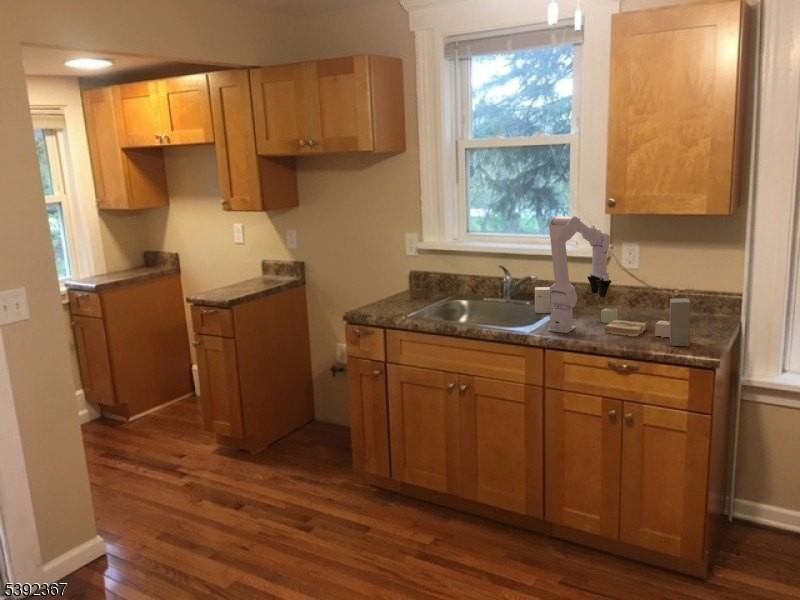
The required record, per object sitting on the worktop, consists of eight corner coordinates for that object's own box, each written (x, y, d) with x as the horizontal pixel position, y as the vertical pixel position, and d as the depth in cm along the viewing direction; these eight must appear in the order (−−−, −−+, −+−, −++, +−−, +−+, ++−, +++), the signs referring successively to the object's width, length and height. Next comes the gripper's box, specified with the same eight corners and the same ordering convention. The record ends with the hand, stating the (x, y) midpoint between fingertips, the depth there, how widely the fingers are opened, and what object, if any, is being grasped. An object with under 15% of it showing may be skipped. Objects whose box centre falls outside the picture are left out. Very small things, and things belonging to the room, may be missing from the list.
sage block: (613, 324, 259) (613, 311, 258) (600, 322, 261) (601, 310, 260) (617, 321, 263) (617, 309, 261) (605, 320, 265) (605, 308, 264)
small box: (552, 310, 286) (553, 286, 283) (554, 313, 280) (554, 289, 278) (534, 310, 286) (534, 287, 284) (535, 313, 281) (535, 289, 279)
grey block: (669, 338, 236) (669, 325, 235) (655, 336, 239) (655, 323, 238) (672, 335, 240) (673, 321, 239) (658, 333, 243) (659, 320, 242)
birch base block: (636, 338, 239) (637, 329, 239) (604, 334, 246) (604, 326, 246) (646, 330, 249) (646, 322, 248) (614, 326, 256) (615, 319, 255)
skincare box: (690, 347, 224) (692, 302, 221) (667, 346, 227) (669, 301, 223) (689, 340, 232) (691, 297, 228) (667, 339, 234) (669, 296, 231)
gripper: (616, 264, 257) (615, 297, 260) (601, 259, 272) (600, 291, 274) (599, 265, 257) (599, 299, 259) (585, 260, 271) (584, 292, 274)
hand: (598, 295), depth 267 cm, fingers open, 7 cm apart
